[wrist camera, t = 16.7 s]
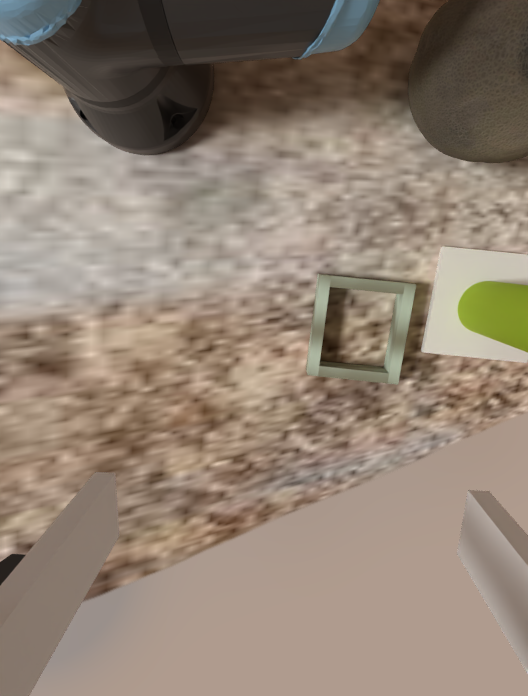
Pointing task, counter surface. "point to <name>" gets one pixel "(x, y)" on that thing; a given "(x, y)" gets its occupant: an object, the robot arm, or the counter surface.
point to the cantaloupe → (473, 80)
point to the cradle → (396, 335)
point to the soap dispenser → (497, 312)
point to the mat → (449, 285)
